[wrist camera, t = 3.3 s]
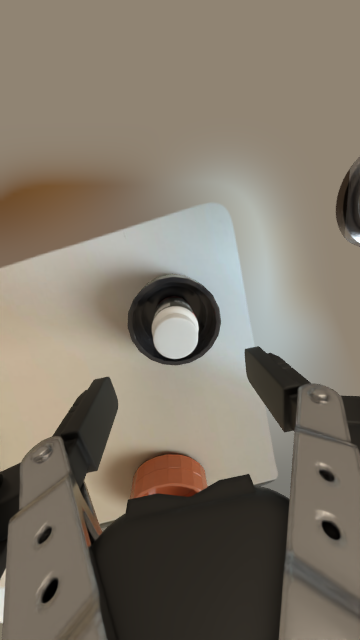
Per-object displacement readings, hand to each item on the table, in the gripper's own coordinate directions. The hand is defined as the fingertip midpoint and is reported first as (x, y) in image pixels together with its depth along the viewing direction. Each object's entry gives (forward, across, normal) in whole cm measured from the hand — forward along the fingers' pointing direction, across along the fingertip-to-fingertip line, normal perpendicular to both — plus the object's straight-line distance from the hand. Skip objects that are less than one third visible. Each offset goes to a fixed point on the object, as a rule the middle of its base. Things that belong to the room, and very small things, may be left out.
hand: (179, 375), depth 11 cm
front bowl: (+14, 0, 0) cm, 15 cm away
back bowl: (+14, +7, +31) cm, 35 cm away
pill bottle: (+14, 0, 0) cm, 14 cm away
